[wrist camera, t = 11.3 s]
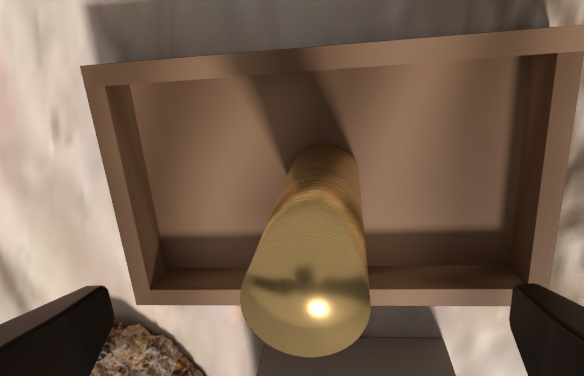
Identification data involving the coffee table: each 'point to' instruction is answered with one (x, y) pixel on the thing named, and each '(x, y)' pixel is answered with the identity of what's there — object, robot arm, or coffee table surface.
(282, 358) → the block
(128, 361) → the mineral rock
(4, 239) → the coffee table surface
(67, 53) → the coffee table surface
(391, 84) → the walnut tray
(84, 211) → the coffee table surface
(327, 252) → the brass pin
